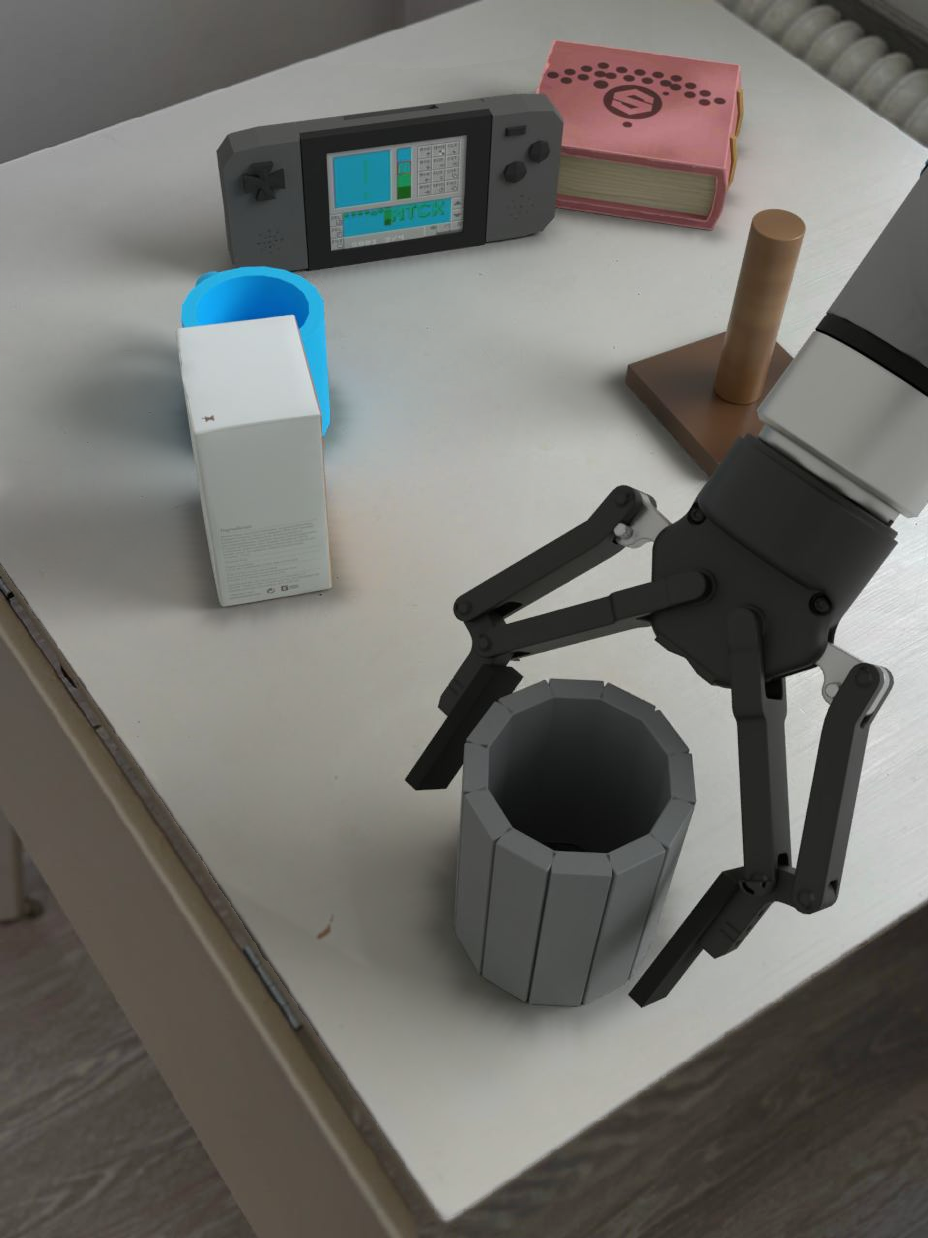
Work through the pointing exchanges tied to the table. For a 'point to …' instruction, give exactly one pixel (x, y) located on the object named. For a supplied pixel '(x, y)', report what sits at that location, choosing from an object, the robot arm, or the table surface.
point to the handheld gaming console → (390, 182)
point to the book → (644, 132)
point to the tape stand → (728, 352)
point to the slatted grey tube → (568, 838)
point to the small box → (257, 457)
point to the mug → (265, 311)
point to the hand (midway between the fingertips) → (530, 885)
